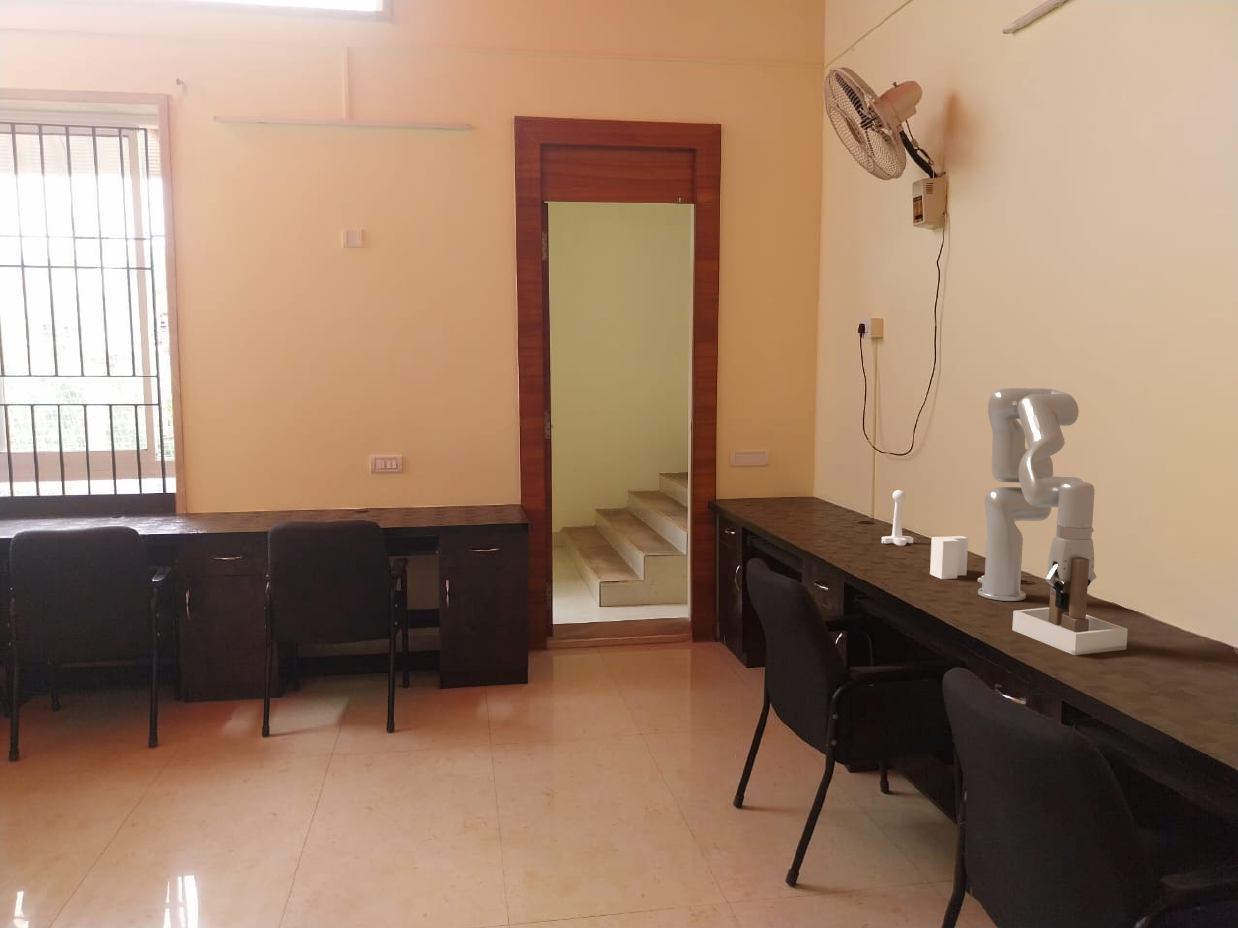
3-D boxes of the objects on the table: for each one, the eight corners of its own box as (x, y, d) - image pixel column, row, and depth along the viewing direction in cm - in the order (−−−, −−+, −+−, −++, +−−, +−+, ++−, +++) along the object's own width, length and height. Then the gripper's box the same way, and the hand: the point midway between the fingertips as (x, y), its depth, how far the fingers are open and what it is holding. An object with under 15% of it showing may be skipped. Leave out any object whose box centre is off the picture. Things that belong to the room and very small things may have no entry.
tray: (1012, 630, 221) (1013, 610, 220) (1060, 625, 225) (1061, 606, 224) (1074, 655, 202) (1076, 634, 201) (1126, 649, 206) (1127, 628, 205)
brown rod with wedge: (1061, 621, 218) (1065, 550, 216) (1088, 634, 208) (1093, 560, 206) (1047, 621, 218) (1051, 550, 216) (1074, 635, 207) (1078, 560, 205)
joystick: (908, 541, 330) (910, 489, 328) (917, 545, 323) (919, 492, 320) (880, 542, 329) (882, 489, 327) (887, 546, 322) (889, 492, 319)
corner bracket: (941, 579, 273) (943, 541, 271) (922, 570, 284) (923, 534, 282) (972, 577, 275) (974, 540, 274) (952, 569, 286) (953, 533, 285)
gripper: (1089, 528, 216) (1084, 600, 218) (1033, 531, 211) (1029, 605, 214) (1114, 534, 209) (1109, 608, 211) (1057, 537, 204) (1052, 614, 206)
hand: (1069, 606), depth 212 cm, fingers closed on brown rod with wedge, 4 cm apart
